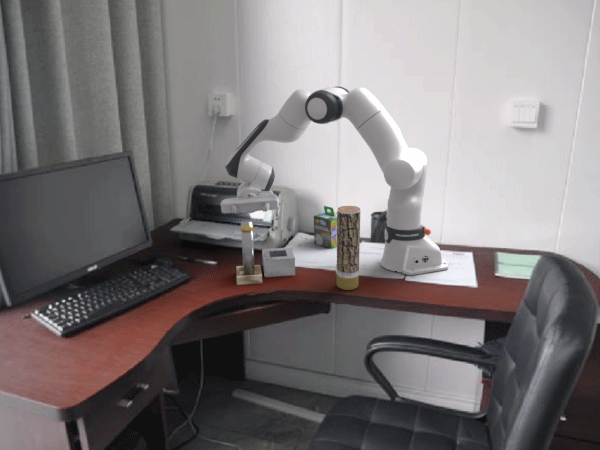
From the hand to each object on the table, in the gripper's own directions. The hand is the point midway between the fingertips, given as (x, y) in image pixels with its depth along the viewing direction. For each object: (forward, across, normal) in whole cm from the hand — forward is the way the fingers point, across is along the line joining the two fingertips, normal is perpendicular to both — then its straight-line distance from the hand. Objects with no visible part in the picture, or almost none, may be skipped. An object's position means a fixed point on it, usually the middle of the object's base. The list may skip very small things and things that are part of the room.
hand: (250, 210), depth 168 cm
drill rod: (+12, -2, +18) cm, 22 cm away
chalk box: (-16, +30, +20) cm, 39 cm away
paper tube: (+23, +28, +21) cm, 42 cm away
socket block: (+7, +8, +20) cm, 22 cm away
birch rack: (+12, -2, +19) cm, 23 cm away
